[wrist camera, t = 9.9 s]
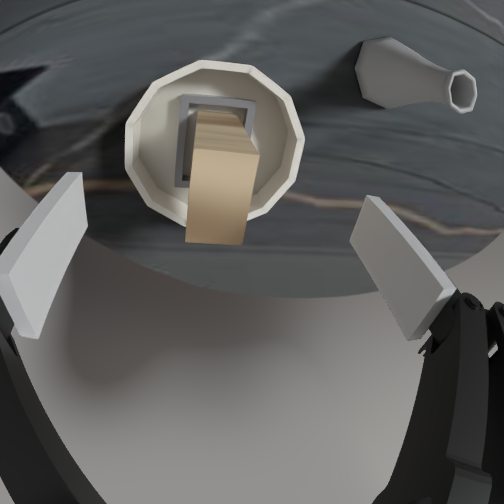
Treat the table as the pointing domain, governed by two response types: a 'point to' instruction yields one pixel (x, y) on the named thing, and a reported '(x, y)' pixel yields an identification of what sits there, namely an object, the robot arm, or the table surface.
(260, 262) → the table surface
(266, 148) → the white round dish
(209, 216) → the wooden block
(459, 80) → the flask
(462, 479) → the robot arm
